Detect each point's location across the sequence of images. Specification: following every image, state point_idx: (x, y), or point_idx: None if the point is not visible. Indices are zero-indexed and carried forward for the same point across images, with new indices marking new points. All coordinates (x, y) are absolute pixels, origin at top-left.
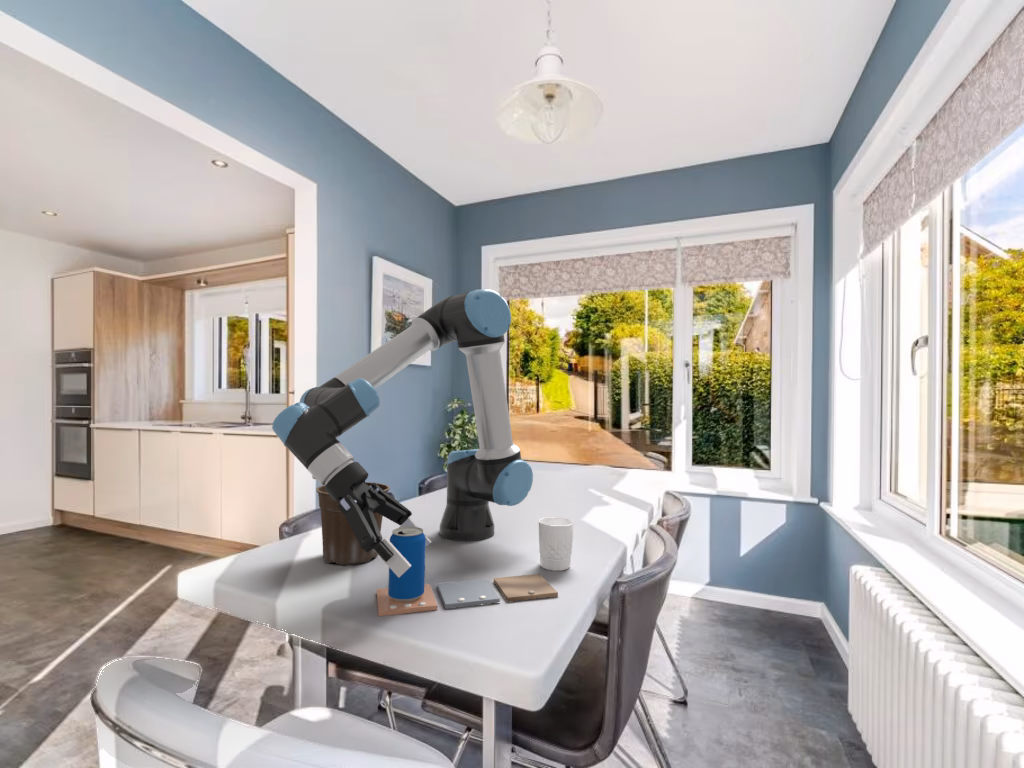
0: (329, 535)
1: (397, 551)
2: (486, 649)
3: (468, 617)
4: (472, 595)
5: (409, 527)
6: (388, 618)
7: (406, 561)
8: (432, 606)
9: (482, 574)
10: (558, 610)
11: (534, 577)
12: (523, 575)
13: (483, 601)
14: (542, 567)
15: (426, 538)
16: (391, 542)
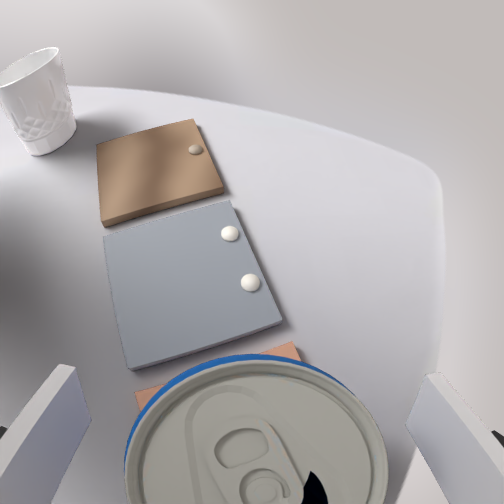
0: None
1: (477, 425)
2: (417, 222)
3: (316, 263)
4: (215, 259)
5: (133, 495)
6: None
7: (447, 388)
8: (296, 353)
9: (53, 256)
10: (252, 126)
11: (113, 150)
12: (98, 167)
13: (243, 233)
14: (52, 151)
15: (61, 384)
16: None
